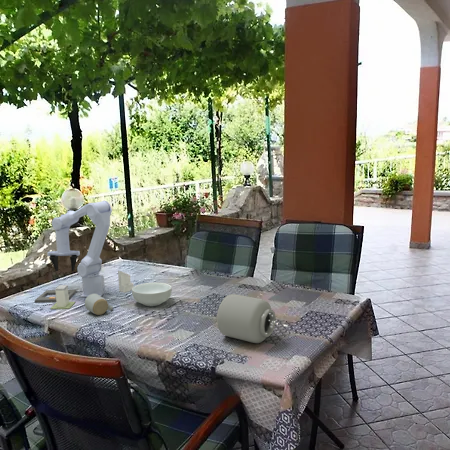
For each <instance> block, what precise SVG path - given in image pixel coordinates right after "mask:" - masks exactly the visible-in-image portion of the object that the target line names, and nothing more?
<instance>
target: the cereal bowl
mask: <svg viewBox="0 0 450 450" xmlns="http://www.w3.org/2000/svg"><path fill="white" fill-rule="evenodd" d="M172 290H173V289H172V286H171V285H170V284H168V283H166V282H146V283H145V282H144V283H141V284H137V285H134V287H133V288H132V290H131V293H132V294H131V295H132V298H133V299H134V301H136V302H137V303H139V304H142V305H144V306H146V307H157V306H159V305H161V304H162V303H165V302H167V301H168V300H169V299H170V297H171V295H172Z"/></svg>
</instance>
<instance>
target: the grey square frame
mask: <svg viewBox="0 0 450 450" xmlns="http://www.w3.org/2000/svg"><path fill="white" fill-rule="evenodd" d="M77 292H78V291H77V289H68V294H69V300H70V299H72V298H73V297H74V295H75V294H77ZM34 303H35V304H38V303H41V304H43V303H46V304H47V303H56V291H55V289H51V290H49V289H48V290H47V289H46V290H45V291H44V292H42V294H39V296H38V297H36V298H35V299H34Z"/></svg>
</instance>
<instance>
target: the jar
mask: <svg viewBox="0 0 450 450" xmlns="http://www.w3.org/2000/svg"><path fill="white" fill-rule="evenodd" d="M276 320H277V319H276V313H275V310H274V309H272V307H271V304H270V303H269V301H267V300H266V299H263V298H257V297H252V296H247V295H240V294H235V293H231V294H228V295H226V296H225V297H224V298H223V299H222V301H221V302H220V304H219V306H218V309H217V313H216V324H217V325H216V326H217V328H218V331H219V332H220V334H221V335H223V336H224V337H228V338H232V339H236V340H241V341H245V342H249V343H252V344H253V343H254V344H259V343H262V342H263V341H265V339H266V338H268V337H270V336H271V335H272V334H273V332H274V330H275V326H276V325H278V322H277V323H276ZM283 327H287V325H286V324H283Z"/></svg>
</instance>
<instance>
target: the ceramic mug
mask: <svg viewBox="0 0 450 450" xmlns="http://www.w3.org/2000/svg"><path fill="white" fill-rule="evenodd" d="M84 307H85V310H87V311H89V312H90V313H92V314H94V315H97V316H102V315H104V314H105V313H106V312H107V311H113V308H114V306H113V305H111V304H109V303H108V300H106V299H105V298H104V297H103V296H100V295H98V294H91V295H89V296H88V297H85V300H84Z"/></svg>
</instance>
